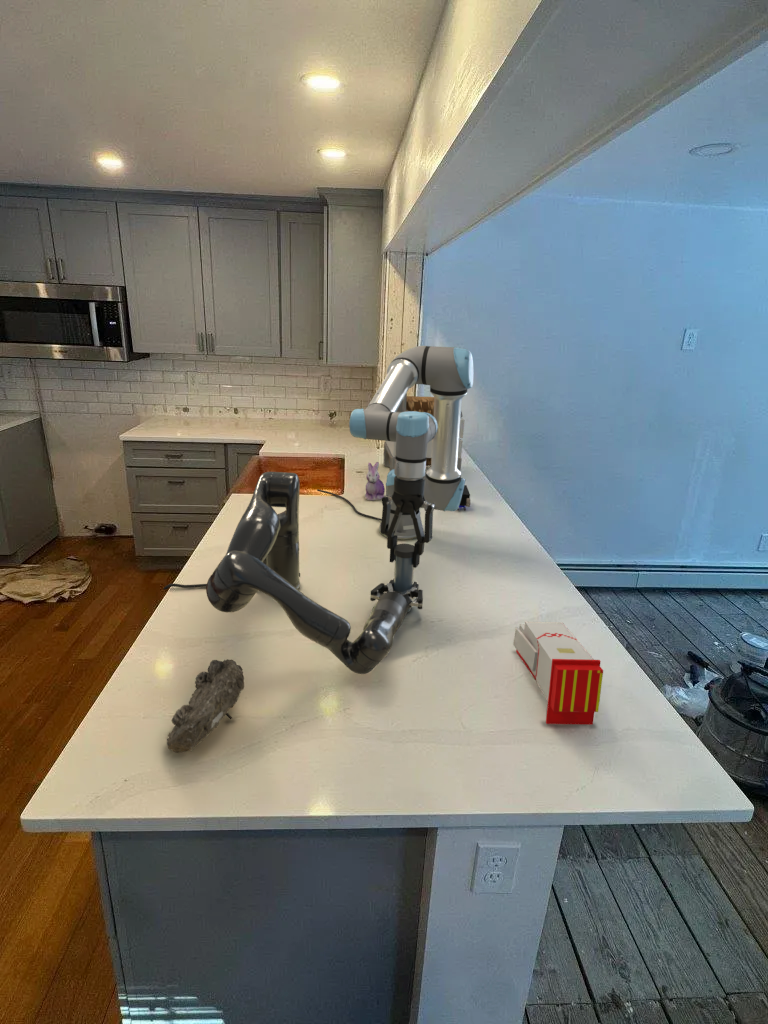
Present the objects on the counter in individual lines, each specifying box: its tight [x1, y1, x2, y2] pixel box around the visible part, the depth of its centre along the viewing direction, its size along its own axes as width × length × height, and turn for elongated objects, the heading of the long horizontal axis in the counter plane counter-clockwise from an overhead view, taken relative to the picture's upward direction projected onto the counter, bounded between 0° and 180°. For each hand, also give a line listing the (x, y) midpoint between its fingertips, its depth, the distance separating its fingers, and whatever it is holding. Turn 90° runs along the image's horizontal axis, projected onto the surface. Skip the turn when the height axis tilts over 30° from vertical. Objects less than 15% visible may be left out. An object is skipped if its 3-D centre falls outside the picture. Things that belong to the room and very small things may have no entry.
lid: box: [394, 543, 414, 558], centre depth 145 cm, size 6×6×2 cm
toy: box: [512, 621, 604, 726], centre depth 121 cm, size 12×13×30 cm
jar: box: [393, 555, 415, 613], centre depth 147 cm, size 5×5×17 cm
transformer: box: [383, 392, 465, 473], centre depth 268 cm, size 34×33×41 cm
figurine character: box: [456, 484, 471, 512], centre depth 229 cm, size 7×8×15 cm
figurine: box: [364, 461, 386, 501], centre depth 234 cm, size 9×10×15 cm
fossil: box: [166, 658, 245, 754], centre depth 106 cm, size 22×10×15 cm
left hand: (405, 583), depth 151 cm, fingers closed on jar, 5 cm apart
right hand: (404, 562), depth 146 cm, fingers closed on lid, 6 cm apart
